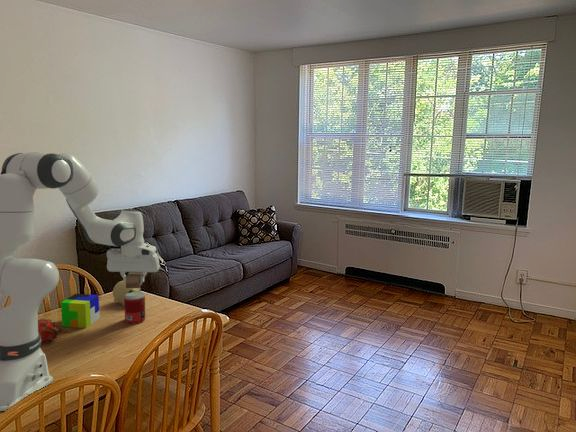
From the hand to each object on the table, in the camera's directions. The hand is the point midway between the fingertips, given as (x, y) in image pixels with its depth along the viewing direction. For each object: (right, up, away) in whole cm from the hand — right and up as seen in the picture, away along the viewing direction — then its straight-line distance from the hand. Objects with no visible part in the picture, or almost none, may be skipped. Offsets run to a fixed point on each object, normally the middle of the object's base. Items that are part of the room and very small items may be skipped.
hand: (134, 281), depth 178 cm
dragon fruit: (-27, -19, -16) cm, 37 cm away
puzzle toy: (-21, -17, 0) cm, 27 cm away
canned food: (0, -17, +3) cm, 17 cm away
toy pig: (-10, -13, +20) cm, 26 cm away
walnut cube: (0, -2, 0) cm, 2 cm away
